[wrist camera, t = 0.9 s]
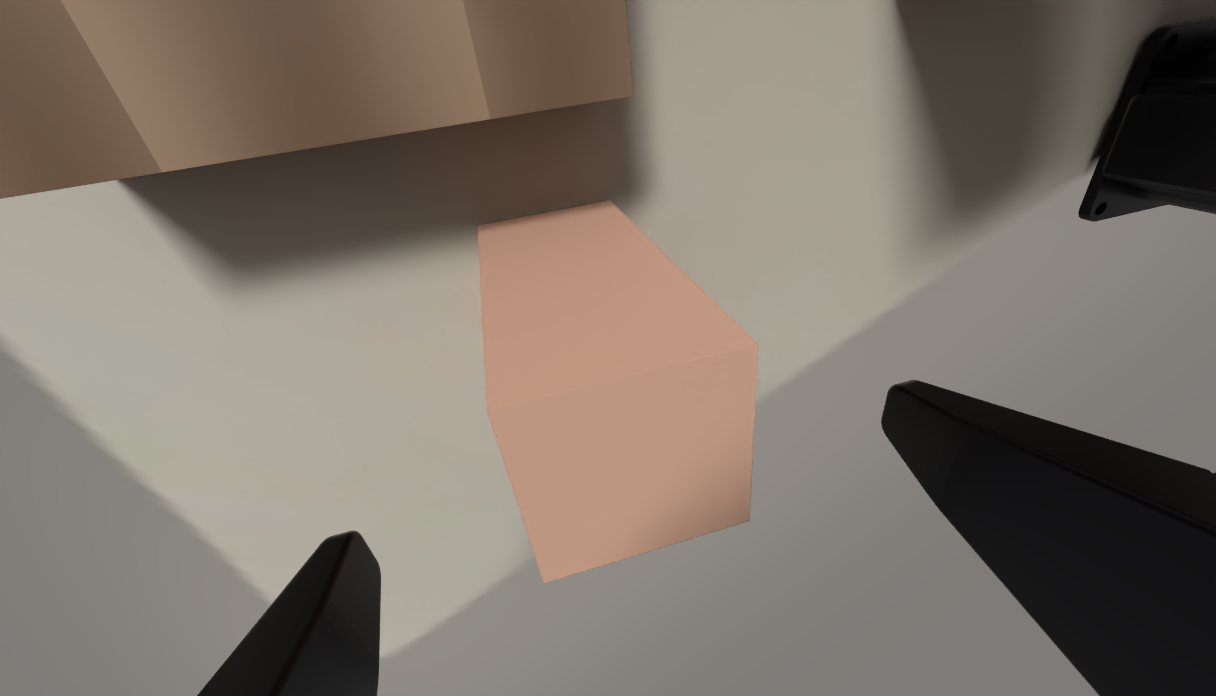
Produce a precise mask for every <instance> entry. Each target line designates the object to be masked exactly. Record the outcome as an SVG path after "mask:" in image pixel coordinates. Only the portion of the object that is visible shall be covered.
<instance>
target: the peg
mask: <svg viewBox="0 0 1216 696" xmlns="http://www.w3.org/2000/svg"><path fill="white" fill-rule="evenodd" d="M477 226H478V245H479V265H480V284H481V303H482V323H483V342H484V361H485V381H486V400H487V413H488V416H489V419H490V422H491V425H492V428H493V431H494V434H495V437H496V440H497V443H498V446H499V449H500V452H501V455H502V458H503V461H504V464H505V467H506V470H507V473H508V476H509V479H510V482H511V486H512V489H513V492H514V495H515V498H516V501H517V504H518V507H519V510H520V513H521V516H522V519H523V522H524V525H525V528H526V531H527V534H528V537H529V540H530V543H531V546H532V549H533V552H534V555H535V558H536V561H537V564H538V567H539V570H540V573H541V576H542V579H543V582H544V583H547V582H550V581H553V580H557V579H560V578H563V577H566V576H570V575H573V574H576V573H580V572H583V571H586V570H590V569H593V568H596V567H599V566H603V565H606V564H609V563H613V562H616V561H619V560H623V559H626V558H629V557H632V556H636V555H639V554H642V553H645V552H649V551H652V550H655V549H659V548H662V547H665V546H669V545H672V544H675V543H678V542H681V541H685V540H688V539H692V538H694V537H698V536H701V535H705V534H708V533H711V532H714V531H718V530H721V529H725V528H728V527H731V526H734V525H738V524H741V523H744V522H747V521H749V519H750V518H749V517H750V499H751V480H752V460H753V440H754V420H755V401H756V382H757V362H758V343H757V342H756V341H755V340H754V339H753V338H751V337H750V336H749V335H748V334H747V333H746V332H745V331H744V330H743V329H742V328H741V327H740V326H739V325H738V324H737V323H736V322H735V321H734V320H733V319H732V318H731V317H730V316H729V315H728V314H727V313H726V312H725V311H724V310H723V309H722V308H721V307H719V306H718V305H717V304H716V303H715V302H714V301H713V300H712V299H711V298H710V297H709V296H708V295H707V294H706V293H705V292H704V291H703V290H702V289H701V288H700V287H699V286H698V285H697V284H696V283H695V282H694V281H693V280H692V279H691V278H690V277H689V276H688V275H686V274H685V273H684V272H683V271H682V270H681V269H680V268H679V267H678V266H677V265H676V264H675V263H674V262H673V261H672V260H671V259H670V258H669V257H668V256H667V255H666V254H665V253H664V252H663V251H662V250H661V249H660V248H659V247H658V246H657V245H656V244H654V243H653V242H652V241H651V240H650V239H649V238H648V237H647V236H646V235H645V234H644V233H643V232H642V231H641V230H640V229H639V228H638V227H637V226H636V225H635V224H634V223H633V222H632V221H631V220H630V219H629V218H628V217H627V216H626V215H625V214H624V213H623V212H621V211H620V210H619V209H618V208H617V207H616V206H615V205H614V204H613V203H612V202H611V201H610V200H607V201H602V202H597V203H591V204H586V205H581V206H576V207H571V208H566V209H560V210H555V211H550V212H545V213H540V214H534V215H529V216H524V217H519V218H514V219H508V220H503V221H498V222H493V223H488V224H483V225H477Z"/></svg>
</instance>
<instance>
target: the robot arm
mask: <svg viewBox="0 0 1216 696" xmlns="http://www.w3.org/2000/svg"><path fill="white" fill-rule="evenodd" d="M1168 204H1169V205H1174V206H1179V207H1184V208H1189V209H1194V210H1199V211H1204V212H1209V213H1214V214H1216V17H1212V18H1206V19H1200V20H1194V21H1188V22H1182V23H1176V24H1170V25H1165V26H1162V27H1159V28H1158V29H1156V30H1155V31H1154V32H1153V33H1152V34H1151V35H1150V37H1149V38H1148V40H1147V41H1146V43H1145V45H1144V48H1143V50H1142V53H1141V55H1140V58H1139V60H1138V63H1137V65H1136V68H1135V70H1134V73H1133V75H1132V78H1131V80H1130V83H1129V85H1128V88H1127V90H1126V93H1125V96H1124V98H1123V101H1122V103H1121V106H1120V108H1119V111H1118V113H1117V116H1116V118H1115V121H1114V123H1113V126H1112V128H1111V131H1110V133H1109V136H1108V138H1107V141H1106V143H1105V146H1104V148H1103V151H1102V153H1101V156H1100V158H1099V161H1098V163H1097V166H1096V168H1095V171H1094V174H1093V176H1092V179H1091V181H1090V184H1089V186H1088V189H1087V191H1086V194H1085V196H1084V199H1083V202H1082V204H1081V206H1080V209H1079V217H1080V218H1082V219H1085V220H1089V221H1099V220H1103V219H1107V218H1112V217H1116V216H1121V215H1125V214H1128V213H1133V212H1138V211H1142V210H1146V209H1150V208H1154V207H1159V206H1163V205H1168ZM881 424H882V428H883V431H884V433H885V434H886V436H887V438H888V439H889V441H890V442H891V443H892V445H893V446H894V447H895V449H896V450H897V452H898V453H899V455H900V456H901V457H902V459H903V460H904V462H905V463H906V464H907V466H908V467H909V469H910V470H911V471H912V473H913V474H914V476H915V477H916V478H917V479H918V481H919V483H920V484H921V486H922V487H923V488H924V490H925V491H926V493H927V494H928V495H929V497H930V498H931V499H932V501H933V502H934V503H935V505H936V506H937V507H938V508H939V510H940V511H941V512H942V513H943V515H944V516H945V517H946V518H947V519H948V521H949V522H950V523H951V524H952V525H953V526H954V527H955V529H956V530H957V531H958V532H959V533H960V535H961V536H962V537H963V538H964V539H965V540H966V542H967V543H968V544H969V545H970V546H971V547H972V549H974V551H975V552H976V553H977V554H978V555H979V557H980V558H981V559H982V560H983V561H984V562H985V564H986V565H987V566H988V567H989V568H990V569H991V570H992V572H993V573H994V574H995V575H996V576H997V577H998V579H999V580H1000V581H1001V582H1002V583H1003V584H1004V585H1005V587H1006V588H1007V589H1008V590H1009V591H1010V593H1011V594H1012V595H1013V596H1014V597H1015V598H1016V600H1017V601H1018V602H1019V603H1020V604H1021V605H1022V607H1023V608H1024V609H1025V610H1026V611H1027V612H1028V613H1029V615H1030V616H1031V617H1032V618H1033V619H1034V620H1035V622H1036V623H1037V624H1038V625H1039V626H1040V627H1041V629H1042V630H1043V631H1044V632H1045V633H1046V634H1047V635H1048V637H1049V638H1050V639H1051V640H1052V641H1053V643H1054V644H1055V645H1056V646H1057V647H1058V648H1059V649H1060V651H1061V652H1062V653H1063V654H1064V655H1065V656H1066V658H1067V659H1068V660H1069V661H1070V662H1071V663H1072V665H1073V666H1074V667H1075V668H1076V669H1077V670H1078V672H1079V673H1080V674H1081V675H1082V676H1083V677H1084V679H1085V680H1086V681H1087V682H1088V683H1089V684H1090V685H1091V687H1092V688H1093V689H1094V690H1095V691H1096V692H1097V693H1098V695H1099V696H1216V473H1212V472H1210V471H1209V470H1207V469H1203V468H1200V467H1197V466H1194V465H1191V464H1187V463H1184V462H1181V461H1178V460H1174V459H1171V458H1168V457H1165V456H1161V455H1158V454H1155V453H1152V452H1148V451H1145V450H1142V449H1139V448H1135V447H1132V446H1129V445H1126V444H1122V443H1119V442H1116V441H1113V440H1109V439H1106V438H1103V437H1100V436H1096V435H1093V434H1090V433H1087V432H1083V431H1080V430H1077V429H1074V428H1070V427H1067V426H1064V425H1060V424H1057V423H1054V422H1051V421H1047V420H1044V419H1041V418H1038V417H1035V416H1031V415H1028V414H1025V413H1022V412H1018V411H1015V410H1012V409H1009V408H1005V407H1002V406H999V405H996V404H992V403H989V402H986V401H983V400H979V399H976V398H973V397H970V396H966V395H963V394H960V393H957V392H954V391H950V390H947V389H943V388H940V387H937V386H934V385H931V384H928V383H924V382H921V381H917V380H911V381H907V382H903V383H899V384H895V385H893V386H892V387H891V388H890V389H889V391H888V394H887V398H886V402H885V406H884V411H883V415H882V420H881ZM380 600H381V572H380V567H379V564H378V562H377V560H376V558H375V557H374V555H373V553H372V552H371V550H370V548H369V547H368V545H367V544H366V542H365V540H364V539H363V537H362V536H361V534H360V533H359V532H357V531H349V532H345V533H341V534H338V535H334V536H330V537H328V538H327V539H325V540H324V541H323V542H322V543H321V544H320V546H319V547H318V548H317V549H316V551H315V552H314V553H313V554H312V555H311V557H310V558H309V559H308V560H307V562H306V563H305V564H304V565H303V567H302V568H301V569H300V570H299V571H298V573H297V574H296V575H295V576H294V578H293V579H292V580H291V581H290V582H289V584H288V585H287V586H286V587H285V589H284V590H283V591H282V592H281V593H280V595H279V596H278V597H277V598H276V600H275V601H274V602H273V603H272V605H271V606H270V607H269V608H268V609H267V611H266V612H265V613H264V614H263V616H262V617H261V618H260V619H259V620H258V622H257V623H256V624H255V625H254V627H253V628H252V629H251V630H250V632H249V633H248V634H247V635H246V636H245V638H244V639H243V640H242V641H241V643H240V644H239V645H238V646H237V648H236V649H235V650H234V651H233V652H232V654H231V655H230V656H229V657H228V659H227V660H226V661H225V662H224V663H223V665H222V666H221V667H220V668H219V670H218V671H217V672H216V673H215V675H214V676H213V677H212V678H211V680H210V681H209V682H208V683H207V684H206V685H205V687H204V688H203V689H202V691H201V692H200V693H199V694H198V695H197V696H377V689H378V677H379V646H380Z"/></svg>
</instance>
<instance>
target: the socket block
mask: <svg viewBox="0 0 1216 696" xmlns="http://www.w3.org/2000/svg"><path fill="white" fill-rule="evenodd" d="M631 96H633V85H632V73H631V61H630V49H629V37H628V25H627V13H626V2H625V0H0V199H1V198H7V197H14V196H20V195H26V194H32V193H38V192H44V191H51V190H57V189H63V188H69V187H75V186H81V185H88V184H94V183H100V182H106V181H112V180H118V179H125V178H131V177H137V176H143V175H149V174H156V173H162V172H168V171H174V170H180V169H186V168H193V167H199V166H205V165H211V164H217V163H223V162H230V161H236V160H242V159H248V158H254V157H260V156H267V155H273V154H279V153H285V152H291V151H297V150H304V149H310V148H316V147H322V146H328V145H334V144H341V143H347V142H353V141H359V140H365V139H372V138H378V137H384V136H390V135H396V134H402V133H409V132H415V131H421V130H427V129H433V128H439V127H446V126H452V125H458V124H464V123H470V122H476V121H483V120H489V119H495V118H501V117H507V116H513V115H520V114H526V113H532V112H538V111H544V110H550V109H557V108H563V107H569V106H575V105H581V104H587V103H594V102H600V101H606V100H612V99H618V98H625V97H631Z"/></svg>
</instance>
